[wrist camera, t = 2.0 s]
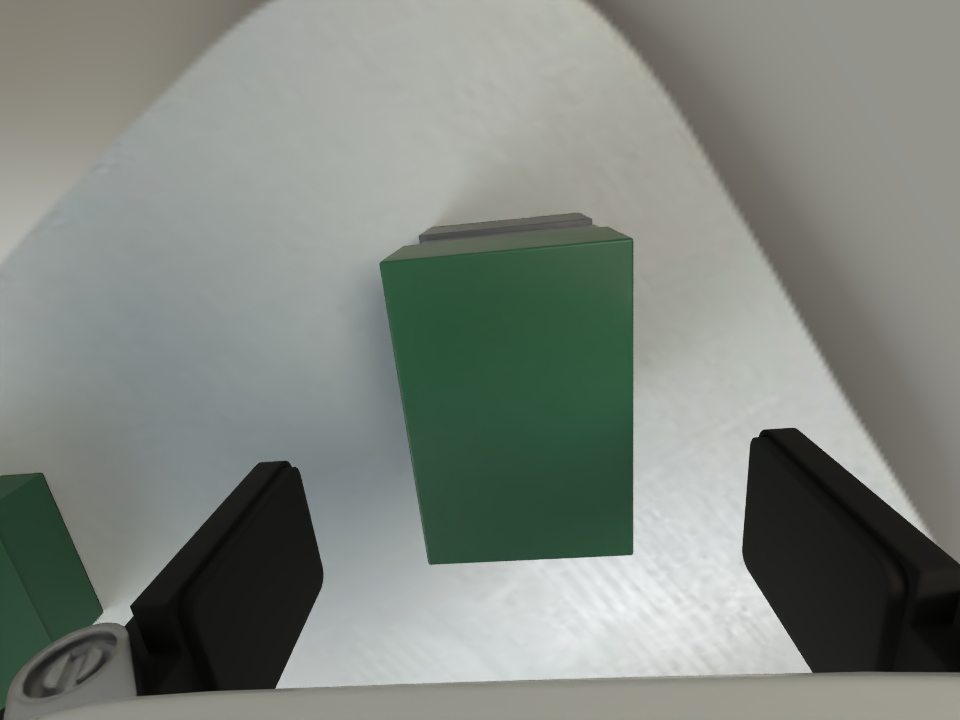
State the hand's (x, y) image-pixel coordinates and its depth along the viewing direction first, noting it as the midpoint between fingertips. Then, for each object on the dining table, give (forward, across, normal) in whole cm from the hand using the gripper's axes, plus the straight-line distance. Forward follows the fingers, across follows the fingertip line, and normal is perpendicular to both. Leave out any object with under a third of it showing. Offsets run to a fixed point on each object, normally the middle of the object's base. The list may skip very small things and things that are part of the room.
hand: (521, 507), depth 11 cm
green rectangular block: (+6, 0, 0) cm, 6 cm away
